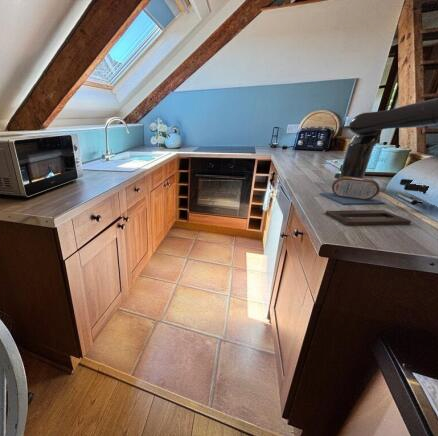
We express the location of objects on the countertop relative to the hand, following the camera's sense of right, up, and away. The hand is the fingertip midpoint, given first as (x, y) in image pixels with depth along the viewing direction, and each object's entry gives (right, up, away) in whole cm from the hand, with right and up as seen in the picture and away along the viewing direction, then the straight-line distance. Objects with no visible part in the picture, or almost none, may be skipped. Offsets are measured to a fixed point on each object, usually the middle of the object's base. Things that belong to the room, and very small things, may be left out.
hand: (402, 184), depth 91 cm
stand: (-22, -13, -9) cm, 27 cm away
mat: (-11, -5, +11) cm, 16 cm away
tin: (-11, -5, +10) cm, 15 cm away
